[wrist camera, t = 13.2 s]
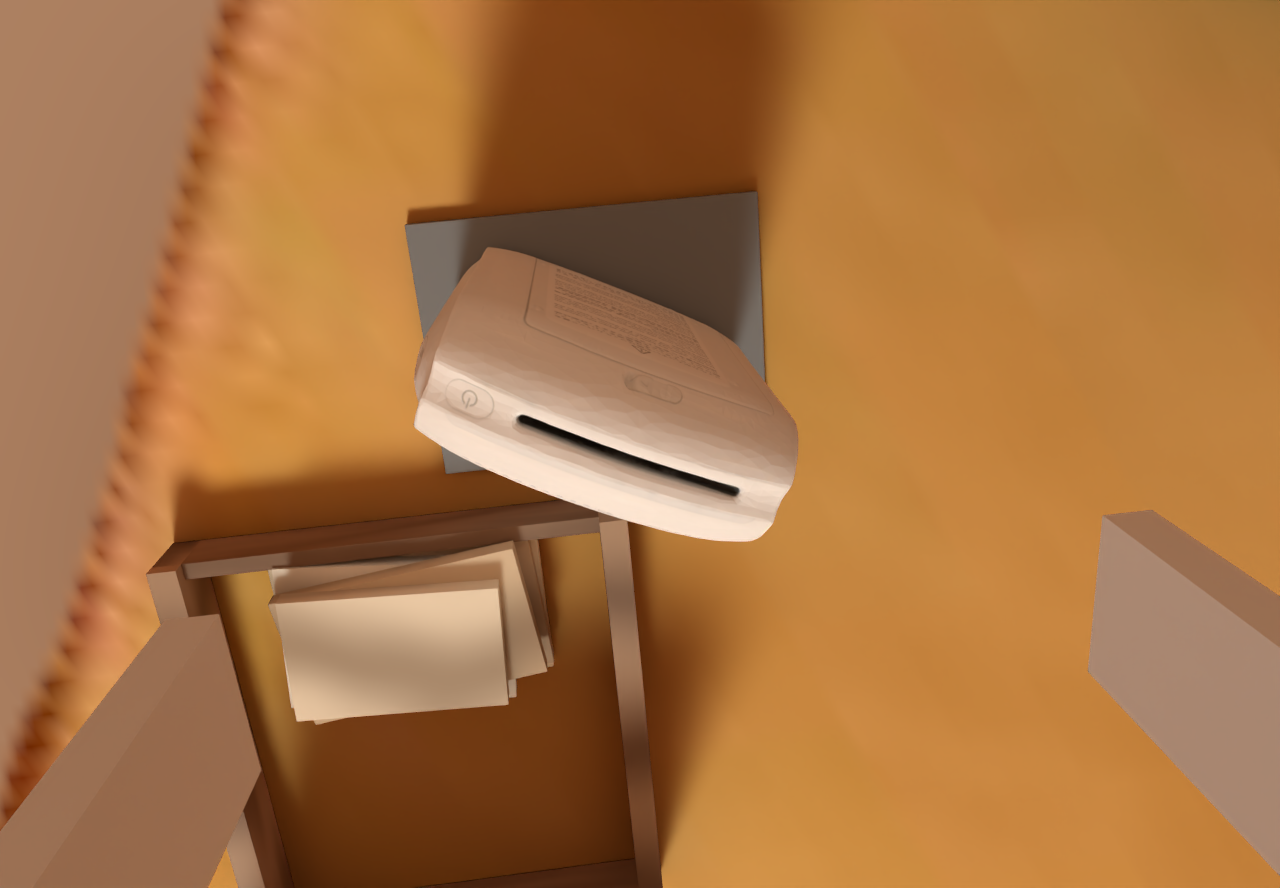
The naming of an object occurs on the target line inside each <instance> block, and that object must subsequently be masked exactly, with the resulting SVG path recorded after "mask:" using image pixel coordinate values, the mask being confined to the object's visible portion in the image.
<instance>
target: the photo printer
mask: <svg viewBox="0 0 1280 888" xmlns="http://www.w3.org/2000/svg"><path fill="white" fill-rule="evenodd" d="M414 381H415V390H416V394H417V398H418V401H419V405H418V408H417V412H416V416H415V421H414V427H415V428H416V429H417V430H419V431H420V432H422V433H423V434H424V435H426V436H427V437H428V438H430V439H432V440H433V441H435V442H436V443H438V444H439V445H440V446H442V447H444V448H446V449H447V450H449V451H450V452H452V453H455V454H456V455H458V456H460V457H462V458H464V459H466V460H468V461H470V462H472V463H474V464H476V465H478V466H480V467H483V468H485V469H487V470H490V471H492V472H494V473H496V474H498V475H501V476H503V477H506V478H508V479H510V480H513V481H515V482H517V483H520V484H522V485H525V486H527V487H530V488H533V489H535V490H538V491H541V492H543V493H546V494H549V495H551V496H554V497H557V498H560V499H562V500H565V501H568V502H571V503H574V504H577V505H580V506H583V507H585V508H589V509H592V510H595V511H598V512H601V513H604V514H607V515H610V516H614V517H617V518H620V519H623V520H627V521H630V522H634V523H638V524H641V525H645V526H648V527H652V528H656V529H659V530H663V531H667V532H672V533H676V534H681V535H686V536H690V537H695V538H701V539H708V540H716V541H752V540H755V539H757V538H759V537H760V536H762V535H763V534H764V533H765V532H766V531H767V530H768V529H769V528H770V526H771V525H772V524H773V522H774V519H775V516H776V512H777V509H778V507H779V505H780V502H781V500H782V499H783V497H784V495H785V494H786V493H787V492H788V490H789V489H790V487H791V485H792V483H793V479H794V475H795V469H796V463H797V456H798V432H797V426H796V423H795V421H794V420H793V418H792V417H791V415H790V414H789V413H788V411H787V410H786V409H785V408H784V406H783V405H782V404H781V402H780V401H779V400H778V398H777V397H776V396H775V395H774V394H773V392H772V391H771V389H770V388H769V387H768V386H767V384H766V383H765V382H764V380H763V379H762V378H761V376H760V375H759V374H758V372H757V371H756V370H755V369H754V367H753V366H752V365H751V363H750V362H749V361H748V359H747V358H746V356H745V355H744V354H743V352H742V351H741V349H740V348H739V347H738V346H737V345H736V344H735V343H734V342H733V341H731V340H730V339H728V338H727V337H726V336H724V335H722V334H721V333H719V332H718V331H716V330H714V329H713V328H711V327H709V326H707V325H705V324H703V323H701V322H698V321H696V320H694V319H692V318H689V317H687V316H685V315H683V314H680V313H678V312H675V311H674V310H672V309H669V308H666V307H664V306H661V305H659V304H656V303H654V302H651V301H649V300H647V299H644V298H642V297H639V296H637V295H634V294H632V293H629V292H627V291H624V290H621V289H619V288H616V287H614V286H611V285H608V284H606V283H603V282H601V281H598V280H595V279H593V278H590V277H588V276H585V275H583V274H580V273H577V272H575V271H572V270H569V269H566V268H564V267H561V266H558V265H555V264H552V263H549V262H546V261H543V260H541V259H538V258H535V257H532V256H529V255H526V254H523V253H519V252H515V251H510V250H506V249H500V248H492V247H487V248H486V250H485V252H484V253H483V255H482V257H481V259H480V260H479V261H477V262H476V263H475V264H473V265H472V266H471V267H470V268H469V269H468V270H467V272H466V273H465V274H464V275H463V277H462V278H461V280H460V281H459V283H458V285H457V286H456V288H455V289H454V291H453V292H452V294H451V296H450V297H449V299H448V300H447V302H446V303H445V305H444V306H443V308H442V310H441V311H440V313H439V315H438V316H437V318H436V319H435V321H434V323H433V324H432V326H431V328H430V329H429V331H428V332H427V334H426V336H425V338H424V340H423V342H422V345H421V347H420V351H419V354H418V358H417V363H416V368H415V377H414Z"/></svg>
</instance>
